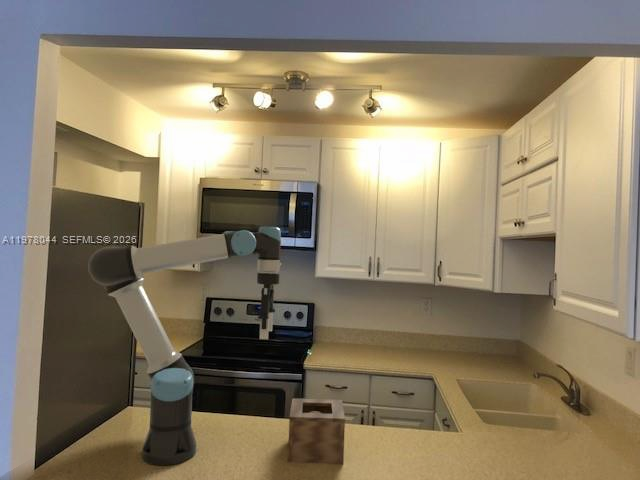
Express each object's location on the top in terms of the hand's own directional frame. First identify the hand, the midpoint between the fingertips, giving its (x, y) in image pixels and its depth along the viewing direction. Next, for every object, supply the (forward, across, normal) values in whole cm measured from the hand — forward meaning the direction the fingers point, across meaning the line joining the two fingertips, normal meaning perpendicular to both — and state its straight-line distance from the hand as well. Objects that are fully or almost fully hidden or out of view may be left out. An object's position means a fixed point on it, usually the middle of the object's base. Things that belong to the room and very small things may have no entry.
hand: (266, 335), depth 154 cm
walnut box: (+32, -15, -18) cm, 39 cm away
